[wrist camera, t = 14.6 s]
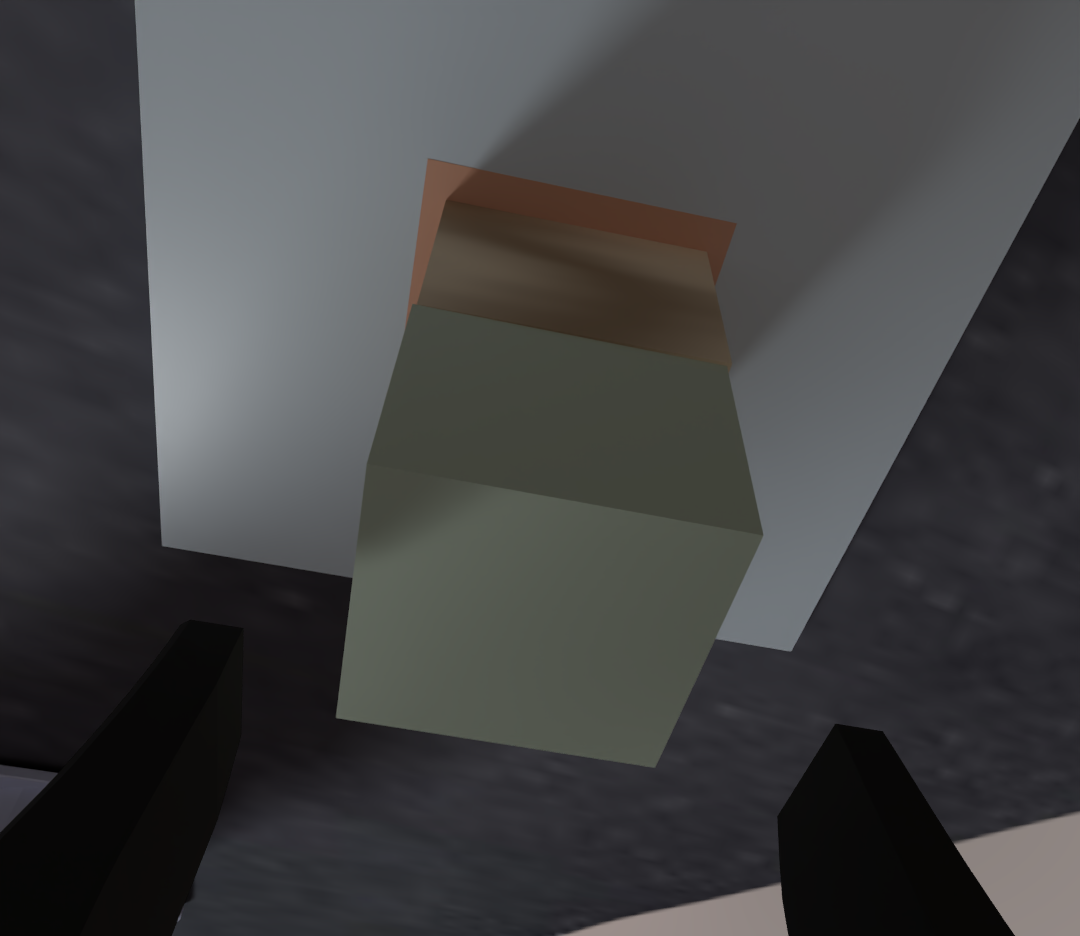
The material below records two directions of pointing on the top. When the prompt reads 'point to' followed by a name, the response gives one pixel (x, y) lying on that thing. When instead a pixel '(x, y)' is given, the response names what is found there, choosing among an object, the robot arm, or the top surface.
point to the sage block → (544, 539)
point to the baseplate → (582, 200)
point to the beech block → (575, 282)
